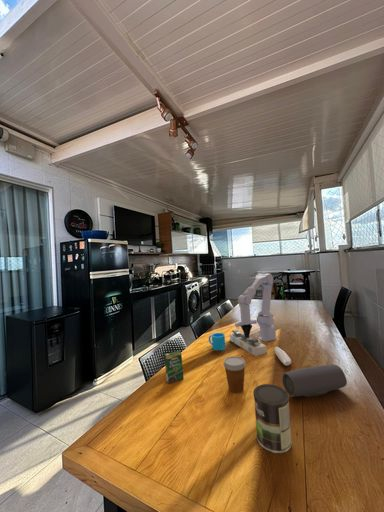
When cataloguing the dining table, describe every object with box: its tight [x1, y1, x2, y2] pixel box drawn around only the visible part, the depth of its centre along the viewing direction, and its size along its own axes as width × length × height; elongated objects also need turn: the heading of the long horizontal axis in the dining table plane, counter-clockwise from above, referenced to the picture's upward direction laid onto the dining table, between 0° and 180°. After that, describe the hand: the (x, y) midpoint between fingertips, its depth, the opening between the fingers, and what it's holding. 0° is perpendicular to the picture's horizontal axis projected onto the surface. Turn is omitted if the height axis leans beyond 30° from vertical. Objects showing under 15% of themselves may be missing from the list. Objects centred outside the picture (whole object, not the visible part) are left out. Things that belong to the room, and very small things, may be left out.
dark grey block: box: [232, 328, 242, 336], centre depth 148 cm, size 3×6×2 cm, turn 21°
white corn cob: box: [274, 346, 292, 367], centre depth 120 cm, size 5×20×5 cm, turn 176°
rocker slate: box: [248, 338, 260, 343], centre depth 131 cm, size 3×6×2 cm, turn 21°
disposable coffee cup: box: [222, 355, 246, 394], centre depth 96 cm, size 10×10×12 cm
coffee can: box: [252, 383, 293, 454], centre depth 69 cm, size 10×10×14 cm
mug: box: [208, 332, 226, 352], centre depth 142 cm, size 12×8×8 cm
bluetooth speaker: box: [281, 364, 348, 398], centre depth 90 cm, size 23×9×10 cm, turn 100°
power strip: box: [229, 332, 268, 357], centre depth 143 cm, size 8×34×5 cm, turn 21°
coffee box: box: [164, 350, 184, 385], centre depth 106 cm, size 8×3×13 cm, turn 113°
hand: (246, 336), depth 137 cm, fingers closed, pressing on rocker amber
